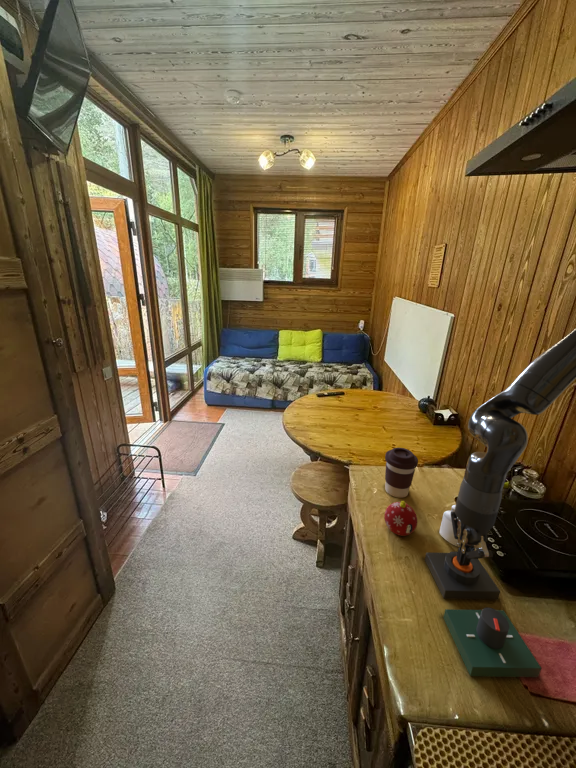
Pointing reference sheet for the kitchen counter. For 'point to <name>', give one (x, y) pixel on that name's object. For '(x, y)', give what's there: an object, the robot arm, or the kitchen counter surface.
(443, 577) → the block
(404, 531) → the christmas ornament
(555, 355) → the robot arm
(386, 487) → the coffee cup
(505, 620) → the knob
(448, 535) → the eye dropper bottle
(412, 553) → the kitchen counter surface
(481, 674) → the green dial base plate
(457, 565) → the orange button cap
